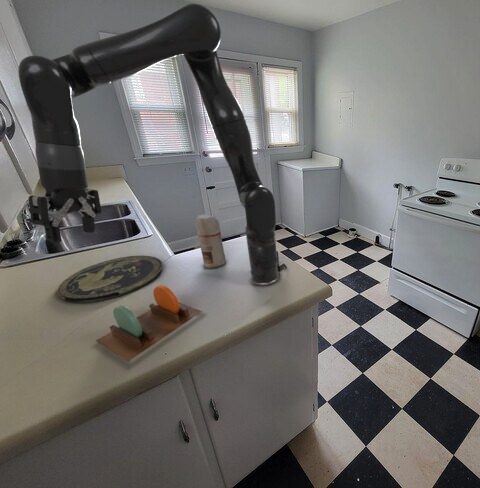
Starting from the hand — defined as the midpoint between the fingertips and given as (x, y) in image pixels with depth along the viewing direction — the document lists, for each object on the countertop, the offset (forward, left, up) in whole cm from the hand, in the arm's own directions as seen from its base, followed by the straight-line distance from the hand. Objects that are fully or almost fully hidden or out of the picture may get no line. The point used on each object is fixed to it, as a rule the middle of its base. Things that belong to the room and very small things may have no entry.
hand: (73, 236), depth 63 cm
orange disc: (-9, +13, -24) cm, 29 cm away
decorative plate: (-14, -25, -26) cm, 39 cm away
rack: (-4, +13, -26) cm, 29 cm away
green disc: (+1, +13, -24) cm, 28 cm away
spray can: (-38, -2, -26) cm, 47 cm away
